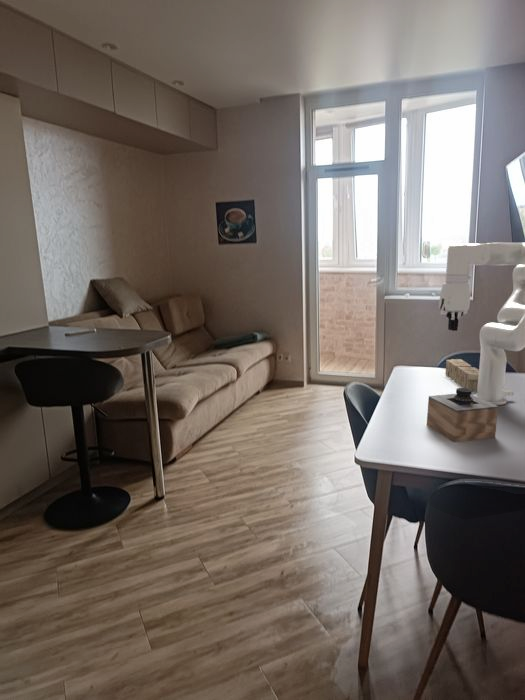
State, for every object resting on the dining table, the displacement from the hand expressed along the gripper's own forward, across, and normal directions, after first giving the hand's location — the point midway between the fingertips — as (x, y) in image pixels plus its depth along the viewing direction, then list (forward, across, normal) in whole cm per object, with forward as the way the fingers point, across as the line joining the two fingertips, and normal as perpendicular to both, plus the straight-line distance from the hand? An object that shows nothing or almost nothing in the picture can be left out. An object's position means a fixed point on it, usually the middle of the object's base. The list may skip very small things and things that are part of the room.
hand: (452, 330), depth 178 cm
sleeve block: (+31, +8, +19) cm, 37 cm away
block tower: (+32, -31, -32) cm, 55 cm away
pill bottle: (+28, +8, +19) cm, 34 cm away
